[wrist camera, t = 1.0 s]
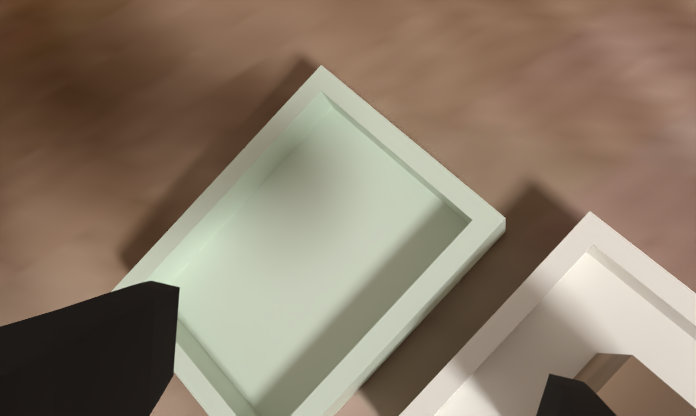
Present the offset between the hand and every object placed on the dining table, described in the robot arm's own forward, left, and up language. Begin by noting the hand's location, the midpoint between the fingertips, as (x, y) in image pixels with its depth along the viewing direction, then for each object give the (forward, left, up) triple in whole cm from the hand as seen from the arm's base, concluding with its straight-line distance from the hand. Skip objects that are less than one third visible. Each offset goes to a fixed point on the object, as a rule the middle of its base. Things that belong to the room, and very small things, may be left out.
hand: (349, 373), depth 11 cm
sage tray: (+6, +1, -12) cm, 13 cm away
